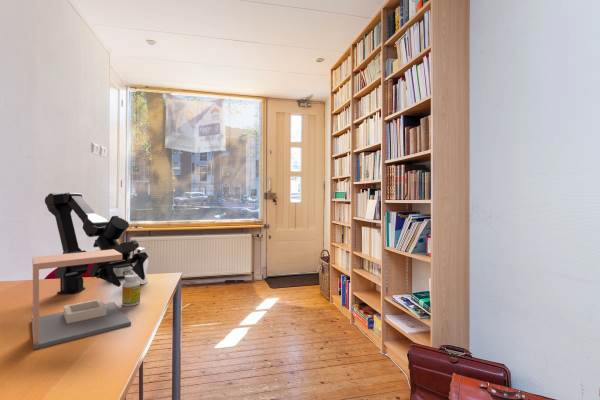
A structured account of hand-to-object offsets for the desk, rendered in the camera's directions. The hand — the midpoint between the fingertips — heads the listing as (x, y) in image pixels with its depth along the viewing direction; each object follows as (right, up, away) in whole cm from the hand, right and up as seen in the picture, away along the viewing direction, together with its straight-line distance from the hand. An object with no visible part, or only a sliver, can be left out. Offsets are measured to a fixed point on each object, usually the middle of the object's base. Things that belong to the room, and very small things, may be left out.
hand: (132, 282), depth 104 cm
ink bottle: (-25, -7, +35) cm, 43 cm away
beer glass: (-11, -7, +25) cm, 28 cm away
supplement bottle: (-1, -8, 0) cm, 8 cm away
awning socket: (-6, -8, -16) cm, 19 cm away
